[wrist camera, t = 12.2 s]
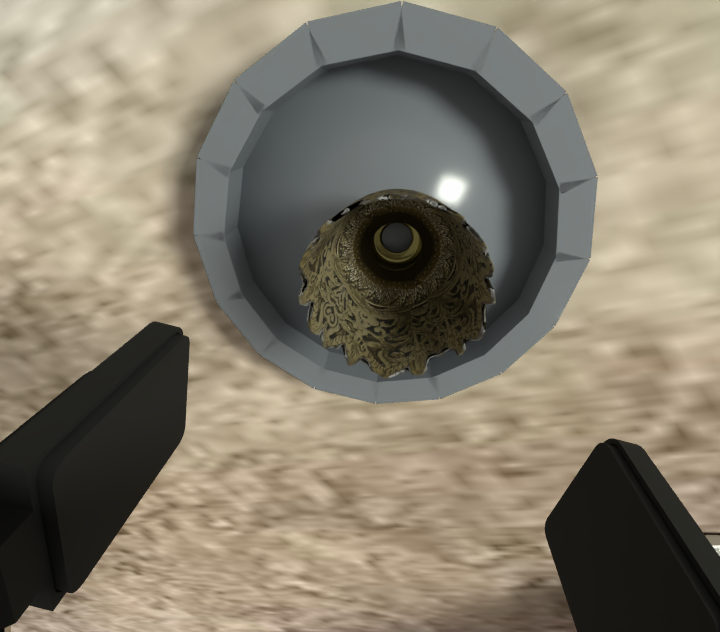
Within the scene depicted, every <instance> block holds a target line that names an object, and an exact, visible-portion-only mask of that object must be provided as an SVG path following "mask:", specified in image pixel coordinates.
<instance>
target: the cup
mask: <svg viewBox="0 0 720 632" xmlns="http://www.w3.org/2000/svg"><path fill="white" fill-rule="evenodd" d="M465 220H466V219H465V218H464V217H463V216H462V215H461V214H459V213H458V212H456V211H454V210H452V209H451V208H449V207H448V206H446V205H445V204H443V203H442V202H440V201H439V200H437V199H435V198H433V197H431V196H429V195H427V194H424V193H421V192H418V191H414V190H408V189H387V190H382V191H377V192H374V193H371V194H369V195H366V196H364V197H362V198H360V199H358V200H357V201H355V202H354V203H352V204H350V205H349V206H347V207H346V208H344V209H343V210H342V211H340V212H339V213H338V214H337V215H335V216H334V217H332V218H330V219H328V220H327V221H326V222H325V223H324V224H323V225H322V226H321V227H320V229H319V230H318V231H317V233H316V236H315V238H314V239H313V241H312V242H311V243H310V244H309V246H308V247H307V249H306V250H305V252H304V254H303V256H302V259H301V262H300V265H299V273H300V277H301V278H302V282H303V286H302V288H301V289H300V292H299V295H298V303H299V305H303V306H307V305H309V308H308V315H307V323H308V327H309V329H310V331H311V332H312V333H314V334H315V335H317V334H318V335H319V338H321V342H322V346H323V348H328V349H330V348H335V349H338V348H340V347H342V349H343V356H344V357H345V359H346V361H347V364H348V365H349V366H353V365H355V364H356V363H357V362H358V361H361V362H363V363H365V364H366V365H367V366H368V368H369V369H370V370H371V371H373V372H374V373H376V374H378V375H380V376H381V377H383V378H391V377H394V376H396V375H398V374H402V373H404V372H407V371H408V372H410V373H411V374H412V375H422V374H424V373H425V372H426V370H427V363H428V360H429V358H432V357H434V356H439V357H441V356H442V355H443V354H444V353H445V352H446V351H448V350H451V351H455V353H456V354H457V355H458V356H460V355H462V354H463V353H464V352H465V350H466V342H467V341H478V340H480V339H481V338H482V336H483V335H484V333H485V330H486V322H487V321H486V320H487V319H486V310H487V305H488V304H490V305H492V304H495V303H496V299H495V291H494V288H493V287H492V285H491V282H490V280H489V278H491V277H493V272H494V266H493V263H492V261H491V259H490V257H489V253H488V252H487V251H488V249H487V246H486V244H485V242H484V241H483V239H482V238H481V237H480V235H479V234H478V233H477V232H476V231H475V230H474V229H473V228H472V227H471V226H470V225H469V224H468V223H467V222H466V221H465ZM393 223H401V224H404V225H405V226H407V227H408V228H409V230H410V231H411V234H412V241H411V243H410V245H409V247H408V248H407V249H405V250H404V251H401V252H392V251H389V250H388V249H387V248H386V247H385V246H384V245H383V242H382V233H383V231H384V229H385V228H386V227H387V226H388V225H390V224H393Z"/></svg>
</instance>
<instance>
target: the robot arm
mask: <svg viewBox="0 0 720 632" xmlns="http://www.w3.org/2000/svg"><path fill="white" fill-rule="evenodd" d="M189 344H190V342H189V337H187V336H184V335H183V331H182V329H181V328H179V327H175V326H172V325H168V324H164V323H160V322H152V323H150V324H149V325H147V326H146V327H145V328H144V329H143V330H141V331H140V332H139V333H138V334H136V335H135V336H134V337H133V338H132V339H130V340H129V341H128V342H127V343H125V344H124V345H123V346H122V347H121V348H119V349H118V350H117V351H116V352H114V353H113V354H112V355H111V356H110V357H108V358H107V359H106V360H105V361H103V362H102V363H101V364H100V365H99V366H97V367H96V368H95V369H94V370H92V371H90V372H88V373H86V374H85V375H83V376H82V377H81V378H79V379H78V380H77V381H76V382H74V383H73V384H72V385H71V386H69V387H68V388H67V389H66V390H65V391H63V392H62V393H61V394H60V395H58V396H57V397H56V398H55V399H53V400H52V401H51V402H50V403H48V404H47V405H46V406H45V407H44V408H42V409H41V410H40V411H39V412H37V413H36V414H35V415H34V416H32V417H31V418H30V419H29V420H27V421H26V422H25V423H24V424H23V425H21V426H20V427H19V428H18V429H16V430H15V431H14V432H13V433H11V434H10V435H9V436H8V437H6V438H5V439H4V440H3V441H2V442H0V632H11V625H12V624H14V623H16V622H17V621H18V619H19V618H20V617H21V615H22V614H23V613H24V611H25V610H26V609H27V608H28V606H29V605H30V606H34V607H38V608H42V609H46V610H50V611H53V610H54V609H55V608H56V606H57V605H58V603H59V602H60V601H61V599H62V598H63V596H64V595H65V594H66V592H68V593H74V592H75V591H77V590H78V589H79V588H80V586H81V585H82V584H83V583H84V581H85V580H86V578H87V577H88V575H89V574H90V572H91V571H92V570H93V568H94V567H95V565H96V564H97V562H98V561H99V559H100V558H101V557H102V555H103V554H104V552H105V551H106V549H107V548H108V546H109V545H110V543H111V542H112V541H113V539H114V538H115V536H116V535H117V533H118V532H119V530H120V529H121V527H122V526H123V525H124V523H125V522H126V520H127V519H128V517H129V516H130V514H131V513H132V511H133V510H134V509H135V507H136V506H137V504H138V503H139V501H140V500H141V498H142V497H143V495H144V494H145V493H146V491H147V490H148V488H149V487H150V485H151V484H152V482H153V481H154V480H155V478H156V477H157V475H158V474H159V472H160V471H161V469H162V468H163V466H164V465H165V464H166V462H167V461H168V459H169V458H170V456H171V455H172V453H173V452H174V450H175V449H176V448H177V446H178V445H179V443H180V441H181V439H182V437H183V434H184V431H185V421H186V402H187V383H188V363H189ZM545 535H546V538H547V541H548V544H549V547H550V550H551V554H552V557H553V560H554V563H555V566H556V569H557V572H558V575H559V578H560V581H561V584H562V587H563V590H564V593H565V596H566V599H567V602H568V605H569V608H570V611H571V614H572V617H573V620H574V623H575V626H576V629H577V632H720V535H704V533H703V532H702V531H701V529H700V528H699V526H698V525H697V524H696V522H695V521H694V519H693V518H692V517H691V515H690V514H689V512H688V511H687V509H686V508H685V507H684V505H683V504H682V502H681V501H680V500H679V498H678V497H677V495H676V494H675V493H674V491H673V490H672V488H671V487H670V486H669V484H668V483H667V481H666V480H665V478H664V477H663V476H662V474H661V473H660V471H659V470H658V469H657V467H656V466H655V464H654V463H653V462H652V460H651V459H650V457H649V456H648V454H647V453H646V452H645V450H644V449H643V448H642V447H641V446H639V445H637V444H633V443H629V442H625V441H621V440H617V439H608V440H606V441H605V442H604V443H599V444H598V445H597V446H596V447H595V448H594V450H593V451H592V453H591V454H590V456H589V457H588V459H587V460H586V462H585V463H584V465H583V466H582V468H581V469H580V471H579V472H578V474H577V475H576V477H575V478H574V480H573V481H572V482H571V484H570V485H569V487H568V488H567V490H566V491H565V493H564V494H563V496H562V497H561V499H560V500H559V502H558V503H557V505H556V506H555V508H554V509H553V511H552V512H551V514H550V515H549V517H548V518H547V520H546V523H545Z"/></svg>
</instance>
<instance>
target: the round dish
mask: <svg viewBox="0 0 720 632" xmlns="http://www.w3.org/2000/svg"><path fill="white" fill-rule="evenodd" d="M495 29H496V26H492V25H488V24H485V23H481V22H477V21H474V20H470V19H466V18H463V17H459V16H455V15H452V14H448V13H444V12H441V11H437V10H434V9H430V8H426V7H423V6H419V5H415V4H412V3H408V2H404V1H403V5H402V8H401V1H399V2H395V3H390V4H386V5H381V6H377V7H372V8H367V9H363V10H358V11H354V12H349V13H345V14H340V15H335V16H331V17H326V18H322V19H317V20H313V21H308V25H307V24H306V23H304V24H303V25H302V26H301V27H299V28H298V29H297V30H296V31H294V32H293V33H292V34H291V35H290V36H288V37H287V38H286V39H285V40H283V41H282V42H281V43H280V44H278V45H277V46H276V47H275V48H273V49H272V50H271V51H270V52H269V53H267V54H266V55H265V56H264V57H262V58H261V59H260V60H259V61H257V62H256V63H255V64H254V65H252V66H251V67H250V68H249V69H248V70H246V71H245V72H244V73H243V74H241V75H240V76H239V77H238V78H236V79H235V80H236V82H233V84H232V86H231V88H230V90H229V92H228V94H227V96H226V98H225V100H224V102H223V104H222V106H221V108H220V110H219V113H218V115H217V117H216V119H215V121H214V123H213V125H212V127H211V129H210V131H209V133H208V135H207V137H206V139H205V141H204V143H203V145H202V147H201V150H200V152H199V154H198V156H197V157H199V158H197V163H196V185H195V208H194V231H193V234H194V235H195V236H194V239H195V242H196V244H197V247H198V250H199V253H200V256H201V259H202V262H203V265H204V267H205V270H206V273H207V276H208V279H209V282H210V285H211V288H212V291H213V293H214V296H215V299H216V302H218V303H217V304H218V305H219V306H220V307H221V309H222V310H223V311H224V312H225V314H226V315H227V316H228V317H229V318H230V320H231V321H232V322H233V323H234V325H235V326H236V327H237V328H238V329H239V331H240V332H241V333H242V334H243V336H244V337H245V338H246V339H247V340H248V342H249V343H250V344H251V345H252V347H253V348H254V349H255V350H256V352H257V353H258V354H260V353H261V354H260V356H262V357H264V358H265V359H267V360H268V361H270V362H272V363H273V364H275V365H276V366H278V367H280V368H281V369H283V370H284V371H286V372H288V373H289V374H291V375H293V376H294V377H296V378H297V379H299V380H301V381H302V382H304V383H305V384H307V385H309V386H310V387H312V388H314V387H315V389H317V390H321V391H325V392H329V393H333V394H337V395H341V396H346V397H350V398H354V399H358V400H362V401H366V402H370V403H374V404H375V402H376V404H380V403H394V402H408V401H421V400H435V399H439V397H440V399H441V398H444V397H446V396H449V395H451V394H454V393H456V392H458V391H461V390H463V389H466V388H468V387H470V386H473V385H475V384H478V383H480V382H483V381H485V380H487V379H490V378H492V377H495V376H497V375H500V374H501V373H500V372H502V373H503V372H504V371H505V370H506V369H507V368H509V367H510V366H511V365H512V364H513V363H514V362H515V361H517V360H518V359H519V358H520V357H521V356H522V355H523V354H524V353H526V352H527V351H528V350H529V349H530V348H531V347H532V346H533V345H535V344H536V343H537V342H538V341H539V340H540V339H541V338H542V337H544V336H545V335H546V334H547V333H548V332H549V331H550V330H551V329H553V328H554V326H555V325H556V323H557V321H558V320H559V318H560V316H561V314H562V312H563V310H564V308H565V306H566V304H567V302H568V301H569V299H570V297H571V295H572V293H573V291H574V289H575V287H576V285H577V283H578V282H579V280H580V278H581V276H582V274H583V272H584V270H585V268H586V266H587V264H588V263H589V261H590V260H589V259H588V258H591V246H592V235H593V224H594V212H595V201H596V190H597V177H595V176H597V173H596V171H595V168H594V165H593V162H592V160H591V157H590V154H589V151H588V149H587V146H586V143H585V140H584V137H583V135H582V132H581V129H580V126H579V124H578V121H577V118H576V115H575V113H574V110H573V107H572V104H571V102H570V99H569V96H568V93H567V94H565V92H566V91H565V90H564V89H563V88H562V87H561V86H560V85H559V84H558V83H557V82H556V81H555V80H553V79H552V78H551V77H550V76H549V75H548V74H547V73H546V72H545V71H544V70H543V69H542V68H541V67H540V66H539V65H537V64H536V63H535V62H534V61H533V60H532V59H531V58H530V57H529V56H528V55H527V54H526V53H525V52H524V51H523V50H521V49H520V48H519V47H518V46H517V45H516V44H515V43H514V42H513V41H512V40H511V39H510V38H509V37H508V36H507V35H505V34H504V33H503V32H502V31H501V30H500V29H499V28H498V29H496V30H495ZM387 189H408V190H414V191H418V192H421V193H424V194H427V195H429V196H431V197H433V198H435V199H437V200H439V201H440V202H442V203H443V204H445V205H446V206H448V207H449V208H451V209H452V210H454V211H456V212H458V213H459V214H461V215H462V216H463V217H464V218H465V219H466V220H465V221H466V222H467V223H468V224H469V225H470V226H471V227H472V228H473V229H474V230H475V231H476V232H477V233H478V234H479V235H480V237H481V238H482V239H483V241H484V242H485V244H486V246H487V249H488V251H487V252H488V253H489V257H490V259H491V261H492V263H493V266H494V272H493V277H491V278H489V280H490V282H491V285H492V287H493V288H494V291H495V299H496V303H495V304H492V305H490V304H488V305H487V310H486V319H487V320H486V321H487V322H486V330H485V333H484V335H483V336H482V338H481V339H480V340H478V341H467V342H466V350H465V352H464V353H463V354H462V355H460V356H458V355H457V354H456V353H455V351H451V350H448V351H446V352H445V353H444V354H443V355H442V356H441V357H439V356H434V357H432V358H429V360H428V363H427V370H426V372H425V373H424V374H422V375H412V374H411V373H410V372H408V371H407V372H404V373H402V374H398V375H396V376H394V377H391V378H383V377H381V376H380V375H378V374H376V373H374V372H373V371H371V370H370V369H369V368H368V366H367V365H366V364H365V363H363V362H361V361H358V362H357V363H356V364H355V365H353V366H349V365H348V364H347V361H346V359H345V357H344V356H343V349H342V347H340V348H338V349H335V348H330V349H328V348H323V346H322V342H321V338H319V335H318V334H317V335H315V334H314V333H312V332H311V331H310V329H309V327H308V323H307V315H308V308H309V305H307V306H303V305H299V303H298V295H299V292H300V289H301V288H302V286H303V282H302V278H301V277H300V273H299V265H300V262H301V259H302V256H303V254H304V252H305V250H306V249H307V247H308V246H309V244H310V243H311V242H312V241H313V239H314V238H315V236H316V233H317V231H318V230H319V229H320V227H321V226H322V225H323V224H324V223H325V222H326V221H327V220H328V219H330V218H332V217H334V216H335V215H337V214H338V213H339V212H340V211H342V210H343V209H344V208H346V207H347V206H349V205H350V204H352V203H354V202H355V201H357V200H358V199H360V198H362V197H364V196H366V195H369V194H371V193H374V192H377V191H382V190H387ZM411 241H412V234H411V231H410V230H409V228H408V227H407V226H405V225H404V224H401V223H393V224H390V225H388V226H387V227H386V228H385V229H384V231H383V233H382V242H383V245H384V246H385V247H386V248H387V249H388V250H389V251H392V252H401V251H404V250H405V249H407V248H408V247H409V245H410V243H411ZM553 325H554V326H553Z"/></svg>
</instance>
